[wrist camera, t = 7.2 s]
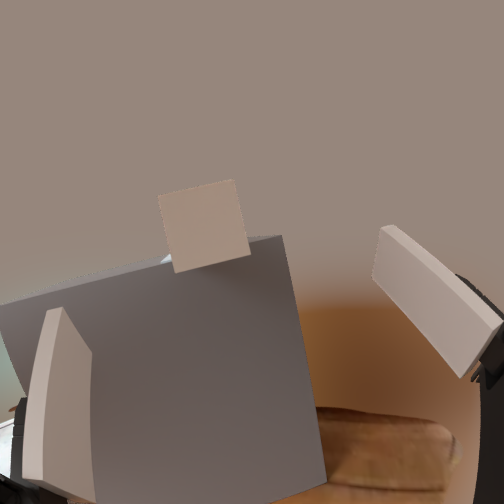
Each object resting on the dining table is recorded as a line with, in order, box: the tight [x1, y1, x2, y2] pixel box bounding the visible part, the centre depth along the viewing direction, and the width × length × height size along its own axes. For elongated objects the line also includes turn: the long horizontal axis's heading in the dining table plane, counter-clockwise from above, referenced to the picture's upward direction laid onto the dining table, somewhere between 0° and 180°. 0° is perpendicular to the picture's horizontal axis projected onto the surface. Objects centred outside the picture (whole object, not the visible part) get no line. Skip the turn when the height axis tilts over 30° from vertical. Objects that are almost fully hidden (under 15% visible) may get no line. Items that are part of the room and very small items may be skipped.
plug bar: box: [158, 179, 251, 273], centre depth 25 cm, size 28×3×3 cm, turn 14°
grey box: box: [0, 235, 327, 504], centre depth 32 cm, size 20×26×29 cm
